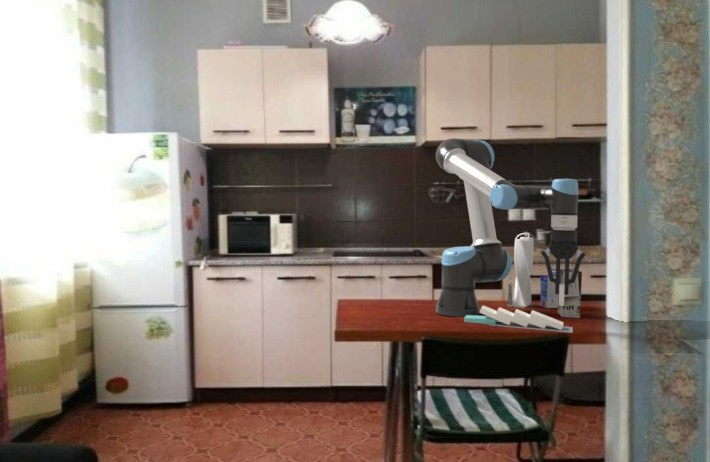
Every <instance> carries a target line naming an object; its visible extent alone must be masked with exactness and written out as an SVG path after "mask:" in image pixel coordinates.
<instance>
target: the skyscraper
mask: <svg viewBox="0 0 710 462" xmlns="http://www.w3.org/2000/svg"><path fill="white" fill-rule="evenodd" d="M522 235H527V237H526V236H522ZM530 235H531V234H530V233H529V232H522V233H519V234H517V235H516V237H515V238H514V246H513V247H514V249H513V251H514V253H513V259H514V261H513V262H514V270H515V282H514V285H513V283H512V279H513V277H512V272H509V274H510V275H509V283H508V285H507V286H508V290H507V291H508V292H507V293H508V294H507V304H506V307H512V306H514V308H521V309H526V308H528V307H532V285H531V284H532V283H531V273H532V269H533V263H534V253H535V252H534V248H535V246H534V244H535V241H534V238H533V237H530ZM518 237H519V239H518ZM513 286H514V290H513Z"/></svg>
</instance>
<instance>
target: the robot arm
mask: <svg viewBox="0 0 710 462" xmlns="http://www.w3.org/2000/svg"><path fill="white" fill-rule="evenodd" d="M435 161H436V163H437V164H438V166H439V167H440V168H441V169H442V170H443V171H445V172H447V173H448V174H455V175H456V176H457V177H459V179H461V180H463V185H464V192H465V196H466V197H465V198H466V204H467V211H468V216H469V224H470V229H471V237H472V243H471V244H470V245H469V246H467V245H466V246H453V247H449V248H447V249H445V250H443V252H442V258H441V291H440V294H439V297H438V300H437V302H436V306H435V312H436V313H437V314H439V315H442V316H446V317H455V318H456V317H465V316H466V315H474V316H479V315H480V313H479V312H480V306H479V303H478V298H477V295H476V291H475V290H476V289H475V288H476V283H488V282H490V283H494V282H498V281H503V280H504V279H506V278H507V277H508V275H509V274H510V273H511V270H512V262H513V260H512V256H511V254H510V253H509V252H508V250H506V249H504V248H503V243H502V242H501V241H500V240H498V239H497V233H496V227H495V220H494V213H493V207H494V208H495V209H499V210H500V209H501V210H532V211H533V210H534V211H535V210H536V211H537V210H551V213H550V216H551V218H550V223H551V224H550V227H551V228H552V229H551V230H550V243H549V245H548V248H546V249H545V250H542V251H541V253H540V254H541V255H542V257H543V258H544V262H545V266H546V269H547V275H548V276H549V280H550V281H551V282H554V283H555V293H556V294H559V306H564V295H568V289H569V284H571V283H574V282H575V280H576V277H577V273H578V270H579V271H580V266H581V263H582V260H583V259H584V257H585V256H586V252H584V251H582V250H580V249H579V247H578V243H577V242H578V241H577V240H578V239H577V236H578V234H577V233H578V231H577V230H576V229H577V228H578V206H579V205H578V203H579V194H580V192H579V182H578V180H577V179H575V178H556V179H555V178H554V179H553V180H552V183H551V185H541V186H540V185H519V184H517V185H516V184H513V183H512V182H510V181H508V180H506V179H505V178H503V177H502V176H500V175H498V174H497V173H495V172H494V171H493V170H492V167H493V166H494V162H495V152H494V150H493V147H492V146H491V145H490V144H489V143H488V142H487V141H484V140H480V139H467V138H466V139H465V138H455V137H454V138H448V139H445V140H444V141H442V142H441V143H440V144H439V145H438V147H437V148H436V152H435ZM492 206H493V207H492ZM550 252H551V253H550ZM550 254H552V255H553V257H554V258H555V260H556V261H555V269H556V271H555V272H556V279H555V278H553V273H552V272H553V271H552V269H553V268H552V265H551V261H550V260H551V259H550V256H551V255H550ZM574 255H576V261H575V265H574V268H573V269H574V271H573V274H572V277H571V279H569V269H570V259H571V258H573V256H574ZM562 260H564V269H565V283H564V284H561V283H560V269H561V261H562Z"/></svg>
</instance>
